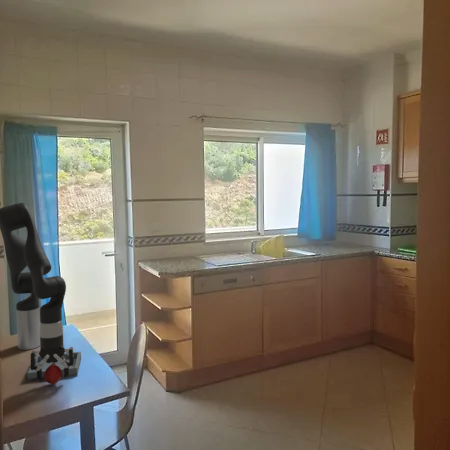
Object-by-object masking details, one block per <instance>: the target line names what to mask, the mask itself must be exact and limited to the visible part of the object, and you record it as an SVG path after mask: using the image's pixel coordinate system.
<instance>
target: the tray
mask: <svg viewBox="0 0 450 450" xmlns="http://www.w3.org/2000/svg"><path fill="white" fill-rule="evenodd" d="M73 354H74V364H73V366H69V375H68V376H67V378H69V377H78V376H79V375H78V374H79V370H80V366H81V360H82V352H81V351H75V352H74V351H73ZM63 357H64V358H65V359H66V361H67V362H70V361H69V355H67V353H66V352H65V353H64V354H63ZM61 358H62V357H61ZM41 360H42V358H41V357H40V355H38V356H37V358H36V365H39V363H40V362H41ZM52 363H54V362H51V363H47V362H45V363H44V365H43V366H42V368H41V369H42V379H44V380H45V377H44V374H45V371H46V369H47V368H48V367H49V366H50V365H51V364H52ZM55 365H57V366H59V367H60V368H61V371H62V377H61V379H62V378H64V366H63V365H62V364H60V362H59V361H58V362H55ZM26 375H27V382H34V381H39V380H38V379H37V371H36V370H31V366H30V367H29V369H28V371H27V374H26Z"/></svg>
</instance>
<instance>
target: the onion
mask: <svg viewBox="0 0 450 450" xmlns="http://www.w3.org/2000/svg"><path fill="white" fill-rule="evenodd" d="M44 377H45V379H44V380H45V382H46V383H48V384H50V385H52V386H53V385H54V386H55V385H56V384H57V383H58V382H60V380H61V379H62V378H63V377H62V371H61V368H60V367H59V366H57V365H55V363H52V364H51V365H50V366H49V367H48V368H47V369H46V371H45V374H44ZM61 377H62V378H61Z"/></svg>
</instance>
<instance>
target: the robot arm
mask: <svg viewBox="0 0 450 450" xmlns="http://www.w3.org/2000/svg"><path fill="white" fill-rule="evenodd" d="M23 228H26V231H27V234H26V235H27V236H26V239H24V238H23V237H21V236H19V235H17V234H16V233H14V231H16V230H19V229H23ZM0 233H1V236H2V239H3V246H4V251H5V257H6V260H7V264H8V268H9V274H10V283H11V284H10V285H11V289H12V292H13V293H14V294H17V295H21V294H22V295H23V294H26V295H27V294H30V295H29V296H28V297H27V298H25V299H22V300H19V301H18V302H17V303H16V305H15V306H16V307H15V308H16V310H15V311H16V328H17V329H16V331H17V348H18V349H19V350H22V351H23V350H24V351H26V350H32V351H31V353H30V367H31V370H36V371H37V379H38V380H37V381H39V382H42V381H43V380H42V369H41V368H42V366H43V365H44V363H45V362H47V363H51V362H54V363H55V362H58V361H59V362H60V364H62V365H63V366H64V377H63V378H64V379H67V378H68V377H67V376H68V375H69V366H73V364H74V354H73V352H74V347H73V346H69V348H65V346H64V329H63V328H64V327H63V326H64V325H63V320H62V319H63V315H62V307H63V303H64V300H65V295H66V291H67V285H66V280H65V279H64V278H63V277H61V276H60V275H59V276H58V275H57V276H56V275H54V276H49V277H45V276H46V275H47V274H49V273H50V272H51V270H52V264H51V263H50V260H49V258H48V256H47V254H46V251H45V250H44V248H43V245H42V242H41V238H40V236H39V233H38V229H37V226H36V224H35V221H34V218H33V215H32V212H31V211H30V208H29V206H28V205H27V204H26V203H24V202H18V203H14V204H11V205H7V206H3V207H0ZM26 268H28V270H29V272H28V271H27V272H22V271H24V270H25V269H26ZM49 298H50V299H49ZM47 299H49V301H48V302H46V303H45V304H43V305H42V306H40V300H47ZM39 347H40V348H39ZM36 348H39V349H40V350H39V351H35V350H33V349H36ZM64 353H67V355H69V361H70V362H67V361H66V359H65V358H64V357H63V354H64ZM37 356H40V357H41V358H42V360H41V362H40V363H39V365H36V358H37ZM61 357H62V358H61Z"/></svg>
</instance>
